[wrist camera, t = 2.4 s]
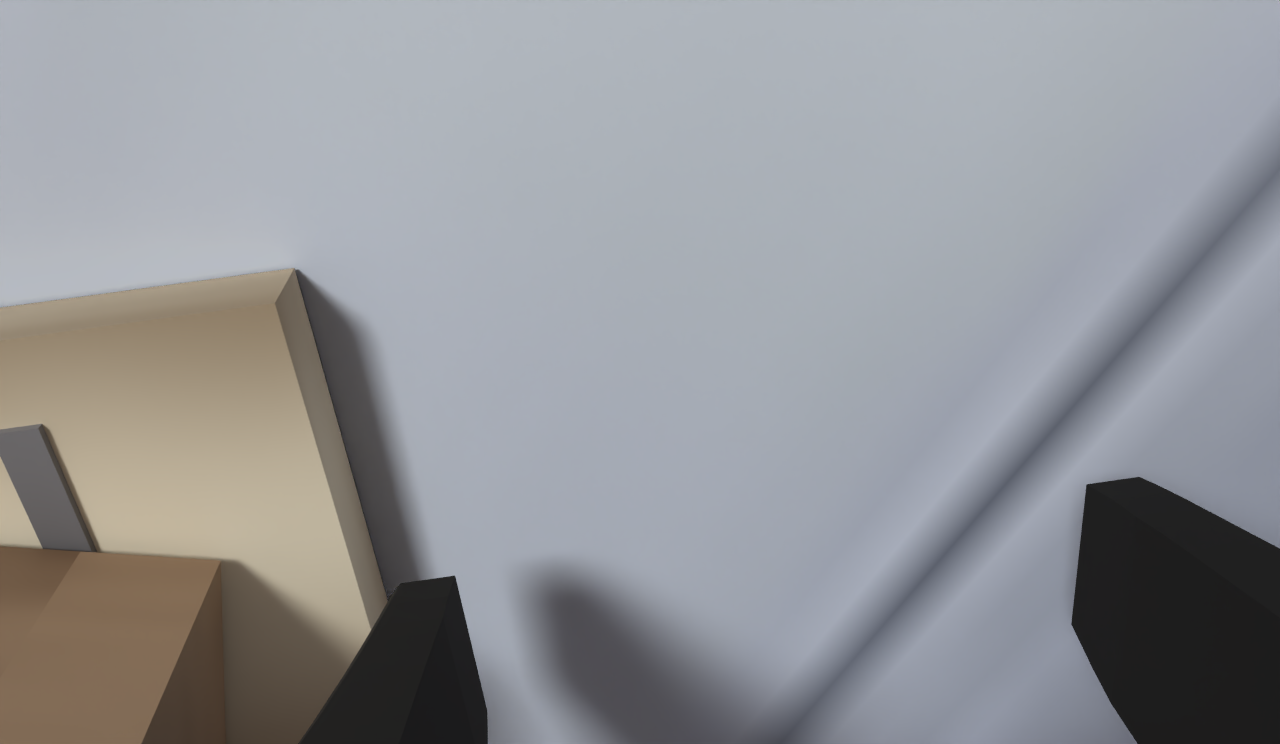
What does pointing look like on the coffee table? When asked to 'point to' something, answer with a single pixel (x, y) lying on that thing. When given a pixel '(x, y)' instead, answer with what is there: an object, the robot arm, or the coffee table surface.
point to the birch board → (198, 471)
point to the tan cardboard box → (110, 649)
